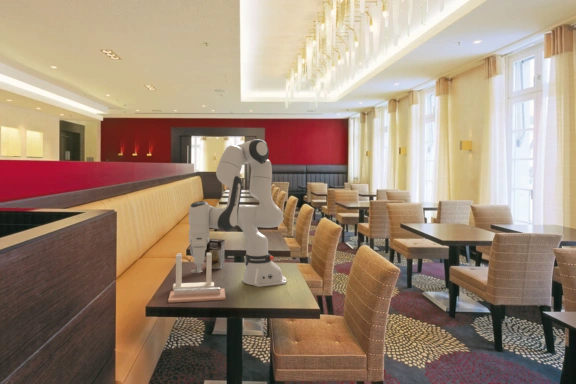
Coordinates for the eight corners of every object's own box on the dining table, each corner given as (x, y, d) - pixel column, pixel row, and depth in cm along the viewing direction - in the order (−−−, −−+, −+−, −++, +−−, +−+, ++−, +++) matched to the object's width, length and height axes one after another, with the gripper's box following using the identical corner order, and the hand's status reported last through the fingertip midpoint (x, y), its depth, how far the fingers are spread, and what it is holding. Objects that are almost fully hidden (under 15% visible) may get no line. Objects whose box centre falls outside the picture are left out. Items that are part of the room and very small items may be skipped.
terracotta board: (224, 290, 171) (224, 288, 171) (225, 299, 159) (225, 297, 159) (170, 293, 166) (170, 290, 166) (168, 302, 154) (168, 300, 154)
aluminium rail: (220, 292, 166) (220, 286, 166) (220, 293, 164) (220, 288, 163) (174, 294, 161) (174, 289, 161) (174, 296, 159) (174, 290, 159)
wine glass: (206, 270, 204) (207, 243, 203) (200, 273, 196) (200, 246, 196) (194, 268, 206) (194, 242, 205) (187, 272, 198) (187, 245, 197)
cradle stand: (213, 284, 180) (214, 252, 179) (214, 288, 174) (214, 255, 173) (173, 286, 176) (173, 253, 175) (172, 290, 170) (172, 256, 169)
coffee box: (205, 268, 208) (205, 240, 207) (209, 265, 214) (210, 238, 213) (220, 269, 206) (221, 241, 205) (224, 266, 213) (225, 239, 212)
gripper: (192, 233, 170) (192, 262, 172) (191, 244, 150) (191, 276, 152) (206, 233, 172) (206, 261, 173) (206, 243, 152) (207, 275, 153)
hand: (199, 268), depth 162 cm, fingers open, 8 cm apart
